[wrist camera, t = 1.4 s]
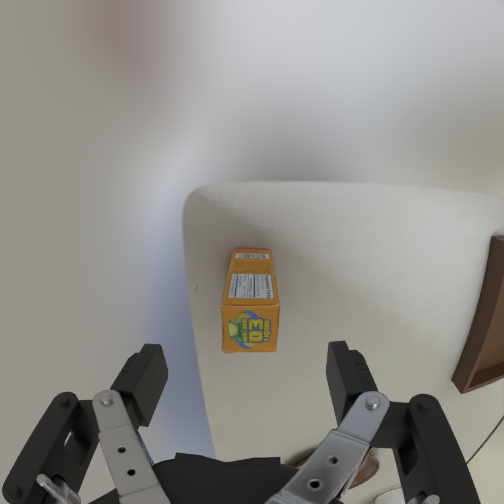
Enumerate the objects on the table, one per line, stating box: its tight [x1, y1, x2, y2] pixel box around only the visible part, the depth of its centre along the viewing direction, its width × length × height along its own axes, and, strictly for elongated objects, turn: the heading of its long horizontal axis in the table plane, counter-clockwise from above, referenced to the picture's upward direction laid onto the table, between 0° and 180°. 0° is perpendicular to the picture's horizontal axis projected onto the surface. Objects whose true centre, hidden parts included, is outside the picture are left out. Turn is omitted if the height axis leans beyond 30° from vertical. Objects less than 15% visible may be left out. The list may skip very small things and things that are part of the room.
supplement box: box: [221, 248, 280, 353], centre depth 20 cm, size 3×3×10 cm
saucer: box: [295, 454, 380, 490], centre depth 33 cm, size 15×15×3 cm
